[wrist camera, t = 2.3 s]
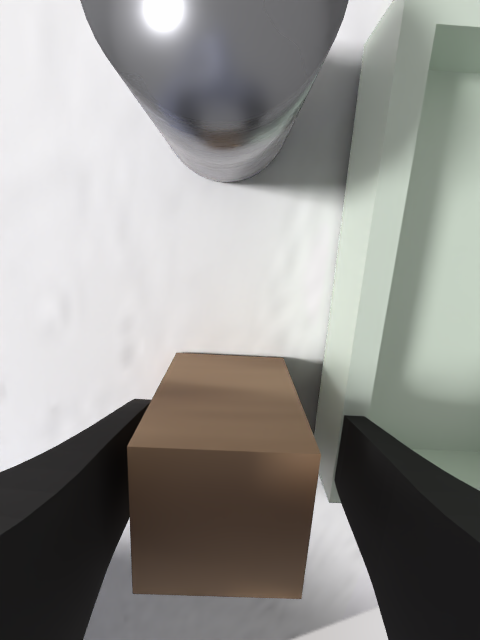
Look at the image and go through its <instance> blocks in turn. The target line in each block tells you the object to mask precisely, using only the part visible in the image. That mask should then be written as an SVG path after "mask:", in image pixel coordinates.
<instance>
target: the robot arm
mask: <svg viewBox="0 0 480 640" xmlns="http://www.w3.org/2000/svg"><path fill="white" fill-rule="evenodd" d="M150 402H151V400H145V399H134V400H132V401H130V402H128V403H127V404H125V405H123V406H122V407H120V408H119V409H117V410H116V411H114V412H113V413H111V414H109V415H108V416H106V417H105V418H103V419H102V420H100V421H98V422H97V423H95V424H94V425H92V426H90V427H89V428H87V429H85V430H84V431H82V432H80V433H79V434H77V435H75V436H73V437H72V438H70V439H68V440H66V441H65V442H63V443H61V444H59V445H58V446H56V447H54V448H52V449H50V450H48V451H46V452H44V453H42V454H40V455H38V456H36V457H34V458H32V459H30V460H27V461H25V462H23V463H21V464H19V465H17V466H14V467H12V468H10V469H7V470H5V471H2V472H0V640H83V638H84V635H85V632H86V629H87V626H88V623H89V620H90V617H91V614H92V611H93V608H94V605H95V602H96V599H97V596H98V593H99V591H100V588H101V585H102V582H103V579H104V576H105V573H106V571H107V568H108V566H109V563H110V561H111V558H112V556H113V553H114V551H115V549H116V546H117V544H118V542H119V540H120V538H121V535H122V533H123V531H124V529H125V526H126V524H127V522H128V520H129V517H130V510H129V484H128V458H127V446H128V444H129V442H130V440H131V438H132V436H133V434H134V432H135V430H136V429H137V427H138V425H139V423H140V421H141V419H142V417H143V415H144V413H145V412H146V410H147V408H148V406H149V404H150ZM334 481H335V485H336V489H337V492H338V495H339V498H340V501H341V503H342V506H343V509H344V511H345V514H346V516H347V519H348V522H349V524H350V527H351V529H352V532H353V534H354V537H355V539H356V542H357V545H358V547H359V550H360V552H361V555H362V557H363V560H364V562H365V565H366V568H367V570H368V573H369V576H370V579H371V582H372V585H373V588H374V591H375V595H376V598H377V602H378V605H379V608H380V612H381V615H382V619H383V622H384V625H385V628H386V632H387V636H388V640H480V491H479V490H477V489H476V488H474V487H472V486H470V485H468V484H467V483H465V482H463V481H461V480H459V479H458V478H456V477H454V476H452V475H451V474H449V473H447V472H446V471H444V470H442V469H441V468H439V467H438V466H436V465H435V464H433V463H431V462H430V461H428V460H427V459H425V458H424V457H422V456H421V455H419V454H418V453H416V452H415V451H413V450H412V449H410V448H409V447H407V446H406V445H404V444H403V443H402V442H400V441H399V440H397V439H396V438H394V437H393V436H392V435H390V434H389V433H387V432H386V431H385V430H383V429H382V428H380V427H379V426H378V425H376V424H375V423H373V422H372V421H371V420H369V419H368V418H366V417H365V416H350V415H344V420H343V427H342V433H341V440H340V446H339V453H338V459H337V466H336V472H335V479H334Z"/></svg>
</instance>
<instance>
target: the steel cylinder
mask: <svg viewBox="0 0 480 640" xmlns="http://www.w3.org/2000/svg"><path fill="white" fill-rule="evenodd" d="M80 1H81V4H82V7H83V10H84V13H85V16H86V19H87V21H88V23H89V25H90V28H91V30H92V32H93V34H94V36H95V39H96V40H97V42H98V44H99V45H100V47H101V49H102V50H103V52H104V54H105V55H106V57H107V58H108V60H109V61H110V63H111V64H112V65H113V67H114V68H115V70H116V71H117V72H118V74H119V75H120V77H121V78H122V79H123V81H124V82H125V84H126V85H127V86H128V88H129V89H130V91H131V92H132V93H133V95H134V96H135V98H136V99H137V100H138V102H139V103H140V105H141V106H142V107H143V109H144V110H145V112H146V113H147V114H148V116H149V117H150V119H151V120H152V121H153V123H154V124H155V126H156V127H157V128H158V130H159V131H160V133H161V134H162V135H163V137H164V138H165V140H166V141H167V142H168V144H169V145H170V147H171V148H172V149H173V151H174V152H175V154H176V155H177V156H178V157H179V159H180V160H181V161H182V162H183V163H184V164H185V165H186V166H187V167H188V168H189V169H191V170H192V171H193V172H195V173H197V174H198V175H200V176H202V177H205V178H207V179H210V180H214V181H219V182H235V181H240V180H244V179H247V178H249V177H252V176H254V175H256V174H257V173H259V172H260V171H262V170H263V169H264V168H265V167H267V166H268V165H269V164H270V163H271V162H272V160H273V159H274V158H275V157H276V155H277V154H278V152H279V151H280V149H281V147H282V145H283V143H284V141H285V139H286V137H287V135H288V133H289V131H290V129H291V127H292V125H293V123H294V121H295V119H296V117H297V115H298V113H299V111H300V109H301V107H302V105H303V103H304V101H305V99H306V97H307V95H308V93H309V91H310V89H311V87H312V85H313V82H314V80H315V78H316V76H317V74H318V72H319V70H320V68H321V66H322V64H323V62H324V60H325V58H326V56H327V54H328V52H329V50H330V48H331V46H332V44H333V42H334V40H335V38H336V35H337V33H338V31H339V28H340V26H341V23H342V21H343V18H344V15H345V11H346V8H347V4H348V0H80Z"/></svg>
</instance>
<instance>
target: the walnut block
mask: <svg viewBox="0 0 480 640" xmlns="http://www.w3.org/2000/svg"><path fill="white" fill-rule="evenodd" d="M127 458H128V484H129V510H130V536H131V562H132V588H133V594H156V595H189V596H222V597H255V598H287V599H301V597H302V590H303V583H304V575H305V568H306V561H307V553H308V546H309V539H310V532H311V524H312V517H313V510H314V502H315V495H316V488H317V480H318V473H319V466H320V459H321V453H320V450H319V448H318V445H317V443H316V440H315V438H314V435H313V433H312V430H311V427H310V425H309V422H308V420H307V417H306V415H305V412H304V410H303V407H302V404H301V402H300V399H299V397H298V394H297V392H296V389H295V386H294V384H293V381H292V379H291V376H290V374H289V371H288V369H287V366H286V363H285V361H284V358H274V357H253V356H233V355H212V354H191V353H176V355H175V357H174V359H173V360H172V362H171V364H170V366H169V368H168V370H167V372H166V374H165V376H164V377H163V379H162V381H161V383H160V385H159V387H158V389H157V391H156V393H155V395H154V396H153V398H152V400H151V402H150V404H149V406H148V408H147V410H146V412H145V413H144V415H143V417H142V419H141V421H140V423H139V425H138V427H137V429H136V430H135V432H134V434H133V436H132V438H131V440H130V442H129V444H128V446H127Z"/></svg>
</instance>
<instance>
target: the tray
mask: <svg viewBox="0 0 480 640" xmlns="http://www.w3.org/2000/svg"><path fill="white" fill-rule="evenodd" d="M344 415H350V416H365V417H366V418H368V419H369V420H371V421H372V422H373V423H375V424H376V425H378V426H379V427H380V428H382V429H383V430H385V431H386V432H387V433H389V434H390V435H392V436H393V437H394V438H396V439H397V440H399V441H400V442H402V443H403V444H404V445H406V446H407V447H409V448H410V449H412V450H413V451H415V452H416V453H418V454H419V455H421V456H422V457H424V458H425V459H427V460H428V461H430V462H431V463H433V464H435V465H436V466H438V467H439V468H441V469H442V470H444V471H446V472H447V473H449V474H451V475H452V476H454V477H456V478H458V479H459V480H461V481H463V482H465V483H467V484H468V485H470V486H472V487H474V488H476V489H477V490H479V491H480V0H393V2H392V3H391V5H390V6H389V8H388V9H387V11H386V12H385V14H384V15H383V17H382V18H381V20H380V21H379V23H378V24H377V26H376V28H375V29H374V31H373V32H372V34H371V35H370V37H369V38H368V40H367V41H366V43H365V44H364V49H363V57H362V65H361V72H360V80H359V88H358V96H357V104H356V111H355V119H354V127H353V135H352V143H351V150H350V158H349V166H348V174H347V182H346V189H345V197H344V205H343V213H342V220H341V228H340V236H339V244H338V252H337V259H336V267H335V275H334V283H333V291H332V298H331V306H330V314H329V322H328V330H327V337H326V345H325V353H324V361H323V369H322V376H321V384H320V392H319V400H318V407H317V415H316V423H315V431H314V438H315V440H316V443H317V445H318V448H319V450H320V453H321V459H320V466H319V475H320V478H321V481H322V484H323V487H324V489H325V492H326V495H327V498H328V501H329V503H341V501H340V498H339V495H338V492H337V489H336V485H335V481H334V479H335V472H336V466H337V459H338V453H339V446H340V440H341V433H342V427H343V420H344Z"/></svg>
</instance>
